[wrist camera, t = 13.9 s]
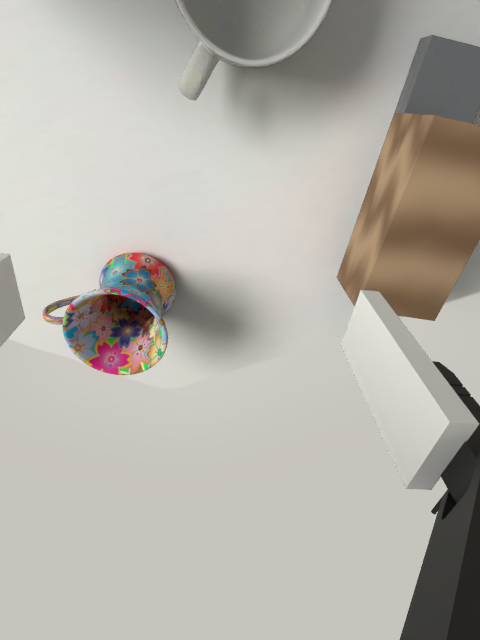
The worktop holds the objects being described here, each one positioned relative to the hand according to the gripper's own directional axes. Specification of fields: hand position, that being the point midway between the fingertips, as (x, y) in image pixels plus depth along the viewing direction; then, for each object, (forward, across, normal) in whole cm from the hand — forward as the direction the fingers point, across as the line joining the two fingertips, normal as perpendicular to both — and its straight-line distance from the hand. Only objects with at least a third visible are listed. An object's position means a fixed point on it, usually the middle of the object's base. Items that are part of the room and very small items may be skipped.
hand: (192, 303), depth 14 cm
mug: (+25, -9, -13) cm, 30 cm away
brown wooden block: (+23, +19, -1) cm, 30 cm away
